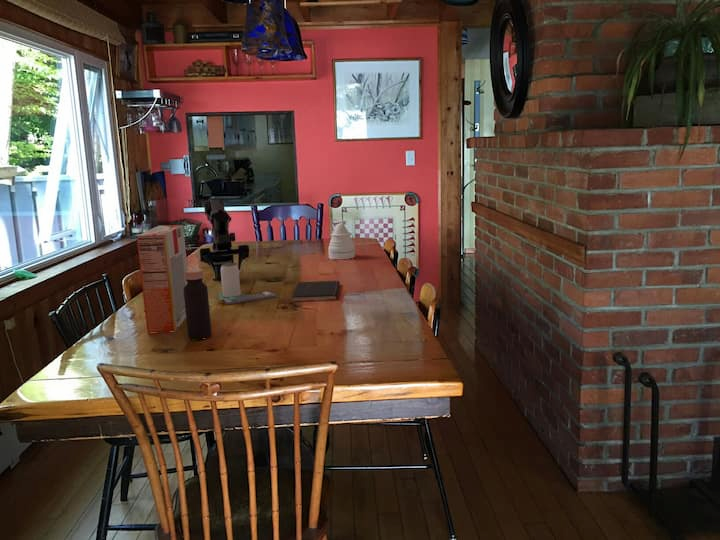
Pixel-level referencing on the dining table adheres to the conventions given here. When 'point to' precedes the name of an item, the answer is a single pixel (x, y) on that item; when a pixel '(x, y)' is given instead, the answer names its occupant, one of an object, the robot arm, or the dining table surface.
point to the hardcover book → (316, 290)
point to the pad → (224, 297)
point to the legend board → (249, 297)
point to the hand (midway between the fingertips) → (227, 271)
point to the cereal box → (163, 276)
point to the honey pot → (341, 243)
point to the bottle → (197, 305)
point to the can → (230, 280)
